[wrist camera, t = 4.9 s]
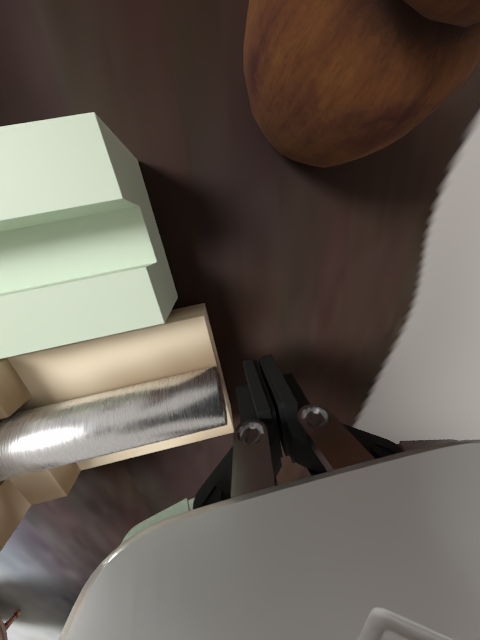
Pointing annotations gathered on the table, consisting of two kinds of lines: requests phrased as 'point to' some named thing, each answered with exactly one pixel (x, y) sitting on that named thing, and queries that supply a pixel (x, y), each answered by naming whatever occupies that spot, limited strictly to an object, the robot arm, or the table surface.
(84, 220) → the block
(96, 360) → the maple beam
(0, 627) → the alarm clock
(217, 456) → the table surface
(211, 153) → the table surface
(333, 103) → the wooden figurine
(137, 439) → the steel axle
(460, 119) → the table surface
